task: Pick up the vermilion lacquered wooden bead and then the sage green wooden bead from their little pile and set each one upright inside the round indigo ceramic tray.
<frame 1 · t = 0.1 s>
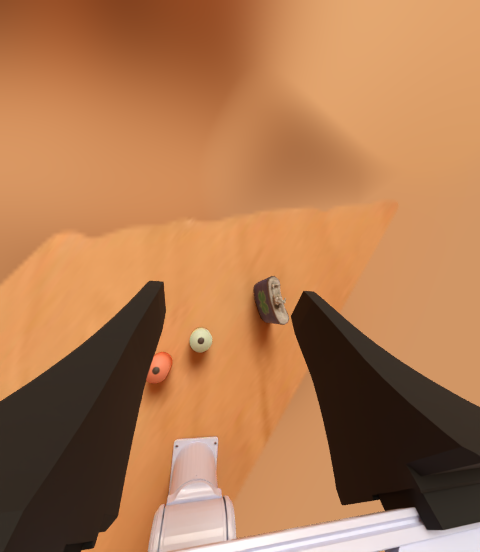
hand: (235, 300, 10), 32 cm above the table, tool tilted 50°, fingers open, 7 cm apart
vermilion bead: (161, 363, 37), on the table
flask: (261, 302, 44), on the table
sage bead: (200, 337, 39), on the table
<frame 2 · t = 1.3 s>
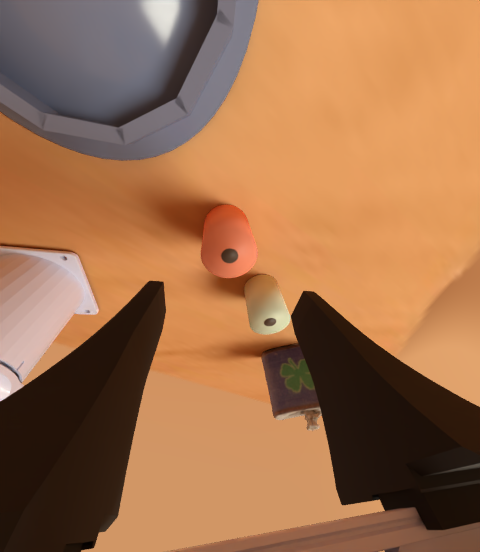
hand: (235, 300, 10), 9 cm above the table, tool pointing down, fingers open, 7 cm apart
vermilion bead: (226, 226, 17), on the table
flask: (288, 348, 32), on the table
sage bead: (260, 288, 22), on the table
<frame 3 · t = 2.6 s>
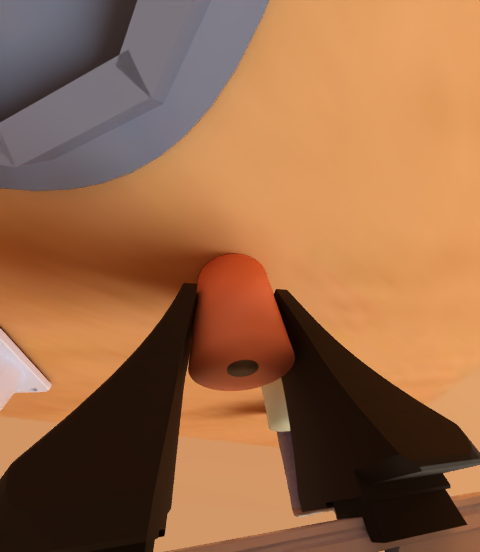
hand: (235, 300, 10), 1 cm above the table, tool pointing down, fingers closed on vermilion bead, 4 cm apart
vermilion bead: (232, 283, 11), on the table, touching gripper
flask: (305, 402, 26), on the table
sage bead: (278, 350, 16), on the table
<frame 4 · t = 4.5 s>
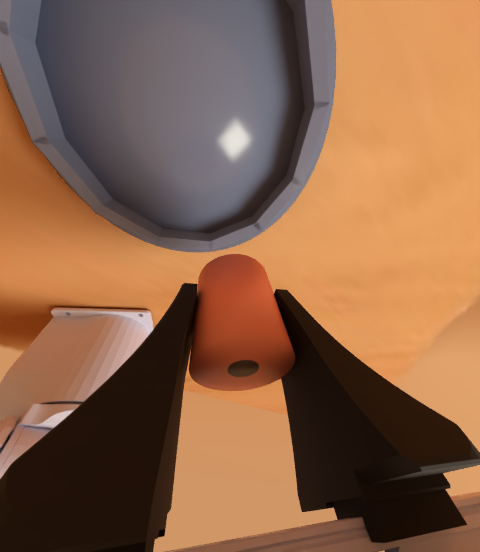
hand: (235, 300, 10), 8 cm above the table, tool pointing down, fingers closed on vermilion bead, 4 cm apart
vermilion bead: (233, 283, 11), point 7 cm above the table, touching gripper
round tray: (187, 122, 12), on the table
when the fingers open (3 cm above the table, at t = 6.2 s): vermilion bead drops 1 cm, resting on round tray.
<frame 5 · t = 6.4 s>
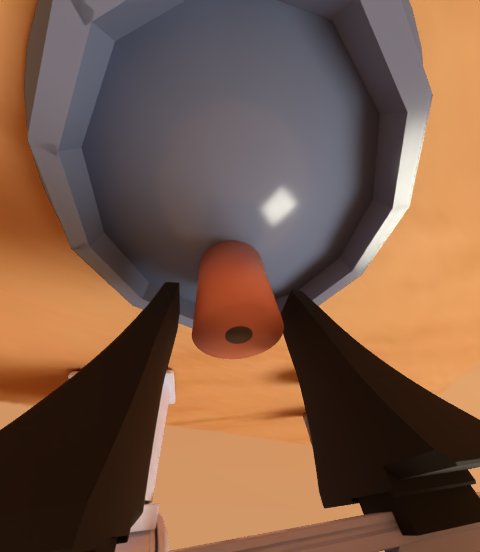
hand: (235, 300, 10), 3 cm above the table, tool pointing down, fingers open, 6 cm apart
vermilion bead: (231, 268, 12), resting on round tray
round tray: (240, 212, 11), on the table
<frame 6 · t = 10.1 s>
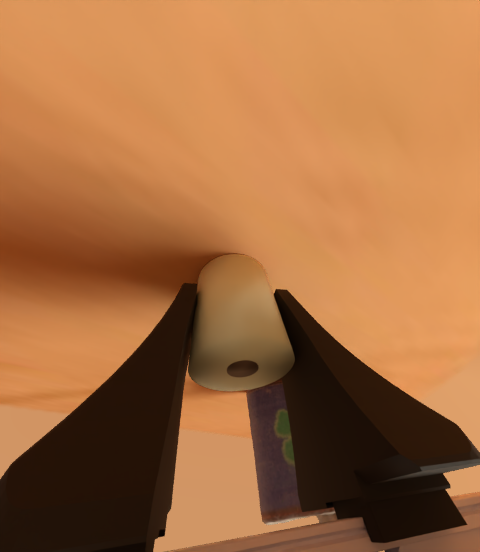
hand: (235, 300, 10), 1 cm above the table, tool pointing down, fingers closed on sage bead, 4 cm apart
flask: (287, 379, 21), on the table
sage bead: (233, 283, 11), on the table, touching gripper
when the fingers open (3 cm above the table, at t = 14.4 s): sage bead drops 1 cm, resting on round tray.
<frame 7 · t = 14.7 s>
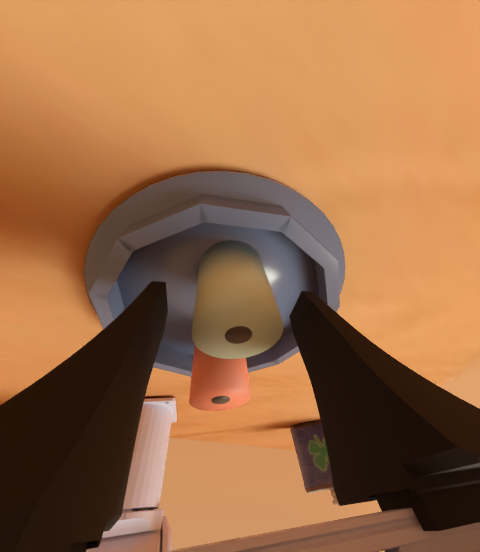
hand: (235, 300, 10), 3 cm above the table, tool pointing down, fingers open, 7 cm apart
vermilion bead: (219, 334, 16), resting on round tray
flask: (312, 421, 39), on the table
round tray: (224, 301, 15), on the table
sage bead: (230, 268, 12), resting on round tray
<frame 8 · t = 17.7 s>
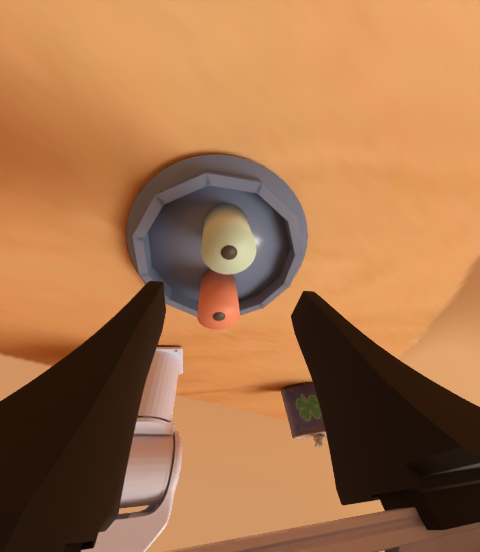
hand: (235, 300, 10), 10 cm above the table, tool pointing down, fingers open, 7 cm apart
vermilion bead: (218, 282, 22), resting on round tray
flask: (300, 385, 44), on the table
round tray: (221, 254, 20), on the table
sage bead: (226, 224, 18), resting on round tray
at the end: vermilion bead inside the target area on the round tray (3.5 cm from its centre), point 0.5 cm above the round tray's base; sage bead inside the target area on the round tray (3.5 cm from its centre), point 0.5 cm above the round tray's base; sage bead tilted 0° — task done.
